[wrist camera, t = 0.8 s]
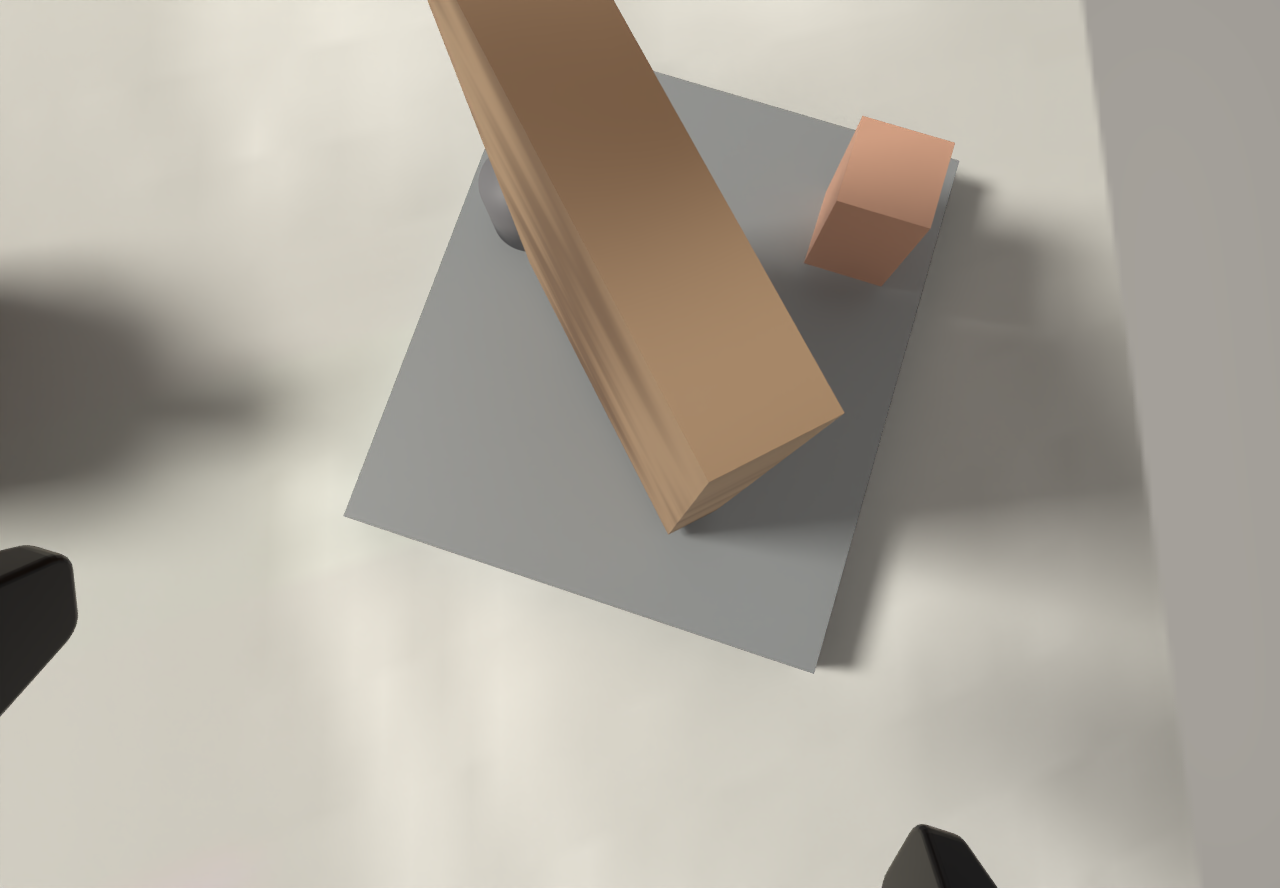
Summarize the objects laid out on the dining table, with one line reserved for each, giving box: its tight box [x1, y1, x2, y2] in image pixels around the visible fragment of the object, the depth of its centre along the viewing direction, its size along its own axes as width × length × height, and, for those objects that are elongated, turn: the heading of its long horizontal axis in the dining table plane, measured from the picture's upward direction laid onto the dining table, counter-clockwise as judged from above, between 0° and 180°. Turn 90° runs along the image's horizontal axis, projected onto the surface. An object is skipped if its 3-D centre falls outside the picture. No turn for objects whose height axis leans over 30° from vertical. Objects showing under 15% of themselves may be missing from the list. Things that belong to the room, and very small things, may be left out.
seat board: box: [344, 71, 959, 674], centre depth 21 cm, size 16×14×6 cm
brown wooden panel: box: [428, 0, 844, 535], centre depth 15 cm, size 9×2×14 cm, turn 27°
